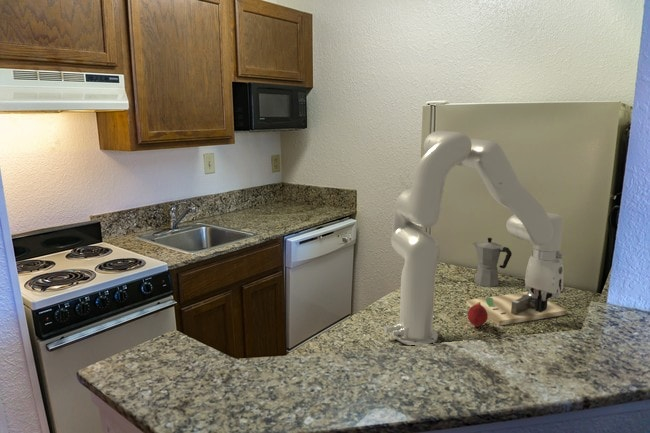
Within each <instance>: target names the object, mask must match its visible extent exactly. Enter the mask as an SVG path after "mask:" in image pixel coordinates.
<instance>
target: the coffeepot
mask: <svg viewBox="0 0 650 433" xmlns="http://www.w3.org/2000/svg"><path fill="white" fill-rule="evenodd" d="M492 240H493V238H492V237H487V241H484V242H483V241H477V242H472V245H474V247H475V249H476V252H477V262H478V266H477V270H476V273H475V277H474V280H473V281H474V283H475V284H476V285H478V286H481V287H486V288H487V287H488V288H493V287H497V286H498V285H499V283H500V282H499V270H498V263H499V260H500V254H501V252H502V253H506V255H505V259H504V260H503V263H502V265H499V268H500V269H506V268H507V265H508V263H509V261H510V259H511V257H512V255H513V254H512V251H511V250H510V248H509V247H506V246H503V245H502V244H498V243H496V242H492Z"/></svg>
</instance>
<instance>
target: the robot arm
mask: <svg viewBox="0 0 650 433" xmlns="http://www.w3.org/2000/svg"><path fill="white" fill-rule="evenodd" d="M423 150H424V154H423V156H422V157H421V158H420V160H419V161H418V163H417V165H416V168H415V170H414V175H413V181H412V185H411V188H407V189H406V190H404V191H402V192H401V193H400V194H399V196H398V197H397V199H396V201H395V204H394V209H393V216H392V225H391V236H390V241H391V242H390V243H391V246H392V248H393V249H394V251H395V252H396V253H397V254H398V255H399V256H401V257H402V258H404V264H403V267H402V271H401V277H400V298H399V299H400V301H399V319H396V320H395V322H396V323H395V324H393V325H387V326H383V332H384V334H390V333H391V334H392V336H393V337H394V338H395V339H396V340H397V342H399V343H402V344H403V345H407V346H411V345H419V344H429V343H433V344H436V342H437V341H438V339H439V338H438V332H437V331H436V330H435V329H434V328H433V326H434V325H433V324H434V311H435V310H434V309H435V306H434V305H435V291H436V278H437V276H436V275H437V268H438V265H439V260H440V256H441V255H440V254H441V250H440V249H441V248H440V245H439V243H438V241H437V239H436V238H435V237H433V235H431V234H429V233H428V232H426V231H424V230H423V228H426V229H429V228H432V227H434V226H435V225H437V223H438V222H439V220H440V217H441V211H442V205H443V197H444V189H445V184H446V181H447V178H448V175H449V174H450V172H451V171H452V170H453V169H454V168H455V167H456V166H459V167H464V168H470V169H473V170H476V171H477V173H478V175H479V177H480V178H481V180H482V181H483V183H484V185H485V187H486V189H487V191H488V192H489V195H490V196H491V197H492V198H493V199H494V200H495V201H496V202H497V203H498V204H499V205H501V206H502V207H504V208H506V209H507V210H509V212H511V213H512V214H513V215H511V216H510V217H509V218H508V219H507V220H506V224H505V225H506V231H507V232H508V233H509V234H510V235H511V236H513V237H514V238H517V239H519V240H522V241H525V242H526V243H528V244H529V243H530V244H531V245H532V253H531V255H530V256H529V259H528V262H527V266H526V269H525V276H524V284H525V285H524V288H525V289H527V290H528V291H531V292H532V293H533V295H534V298H536V299H535V307H536V311H539V312H543V311H545V310H546V308H547V301H549V299H550V298H555V299H557V298H560V297H561V294H562V293H561V291H562V290H563V289H564V264H563V259H565V254H564V253H563V254H562V250H561V246H562V236H563V235H562V234H563V226H564V218H563V217H562V215H560V214H557V213H551V212H547V211H546V210H545V208H544V206H543V205H542V204H541V203H540V202H539V200H538V199H537V198H536V197H535V196H534V195H533V194H532V193H531V192H530V191H529V190H528V189H527V188H526V187H525V186H524V185H523V184H522V183H521V181H520V180H519V178H518V176H517V175H516V173H515V170H514V168H513V167H512V165H511V163H510V161H509V158H508V157H507V155H506V153H505V152H504V150H503V148H502V147H501V145H500V144H499V143H497V142H496V141H492V140H487V139H479V138H472V137H471V138H470V137H469V136H468V135H466V134H465V133H462V132H459V131H452V130H451V131H449V130H447V131H446V130H435V131H433V132H431V133H429V134H428V135H427V137H426V138H425V139H424V141H423Z"/></svg>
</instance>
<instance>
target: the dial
mask: <svg viewBox="0 0 650 433" xmlns="http://www.w3.org/2000/svg"><path fill="white" fill-rule="evenodd" d="M526 292H527V294H526V295H523V296H522V297H521V298H519V299H517V300H512V307H511V313H513V314H515V315H516V314H518V313H520V312H522V311H524V310H526V309H528V308H533V309H536V307H535V299H536V298H534V295H533V293H532V292H531V291H530V290H528V291H526Z"/></svg>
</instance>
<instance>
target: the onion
mask: <svg viewBox="0 0 650 433" xmlns="http://www.w3.org/2000/svg"><path fill="white" fill-rule="evenodd" d="M467 319H468V321H469V322H470V324H471V325H473V326H474V327H476V328H479V327H480V326H482V325H484V324H486V322H487V321H488V314H487V311H486V309H485V308H484V307H483V306H481V303H480V302H477V304H476V305H474V306H472V307H469V309H468V311H467Z"/></svg>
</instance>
